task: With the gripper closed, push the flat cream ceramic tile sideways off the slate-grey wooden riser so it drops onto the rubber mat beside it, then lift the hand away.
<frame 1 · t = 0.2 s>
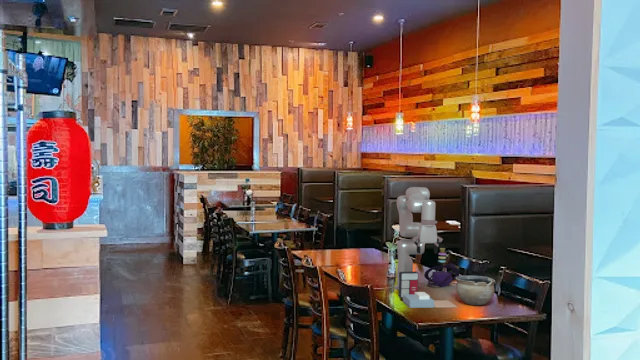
hand: (427, 253, 314), 30 cm above the table, tool pointing down, fingers open, 9 cm apart
tile: (421, 297, 321), point 4 cm above the table, touching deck
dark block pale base: (408, 297, 337), on the table
ceramic bowl: (474, 303, 326), on the table
decorative bottle: (441, 286, 370), on the table
mat: (441, 304, 322), on the table
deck: (418, 304, 321), on the table
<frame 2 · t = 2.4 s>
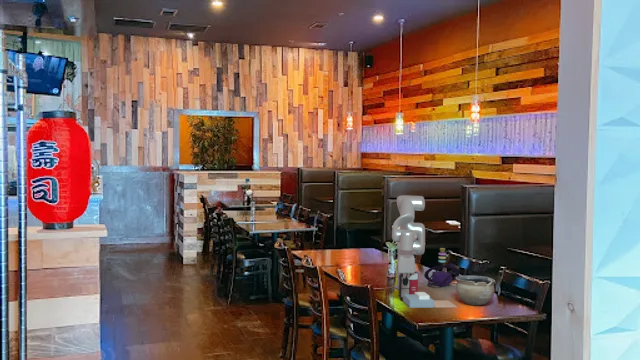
hand: (405, 285, 319), 11 cm above the table, tool pointing down, fingers closed
nothing on the table moved.
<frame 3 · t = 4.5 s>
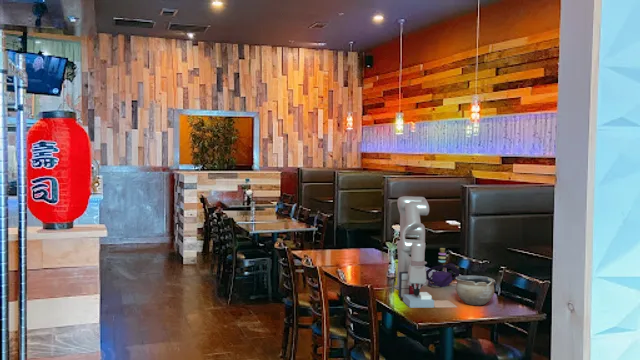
hand: (416, 295, 320), 5 cm above the table, tool pointing down, fingers closed
tile: (423, 297, 321), point 4 cm above the table, touching gripper
everything else where it was.
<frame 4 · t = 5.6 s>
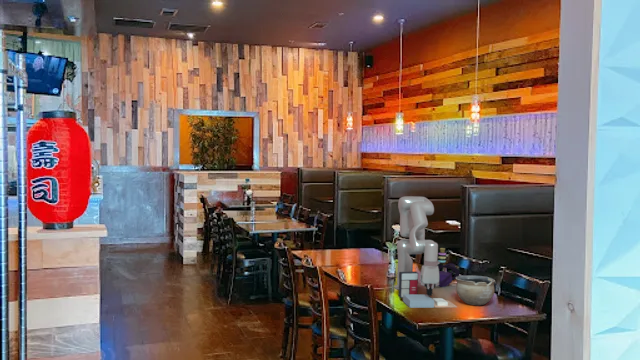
hand: (429, 295, 321), 5 cm above the table, tool pointing down, fingers closed
tile: (440, 300, 322), point 2 cm above the table, tilted 180°, touching mat
everything else where it was.
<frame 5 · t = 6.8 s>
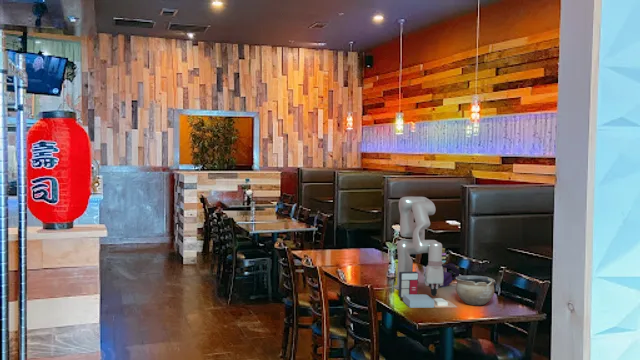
hand: (433, 295, 322), 5 cm above the table, tool pointing down, fingers closed
nothing on the table moved.
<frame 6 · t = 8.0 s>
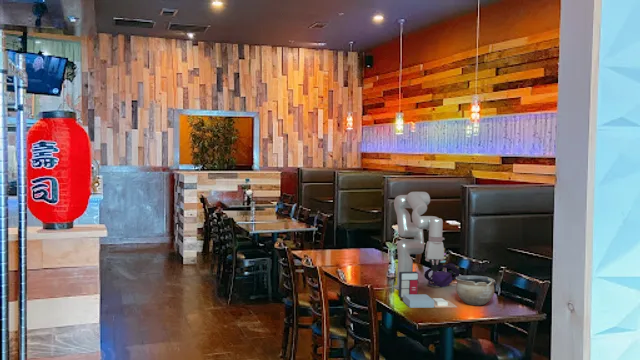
hand: (434, 271, 321), 19 cm above the table, tool pointing down, fingers closed
nothing on the table moved.
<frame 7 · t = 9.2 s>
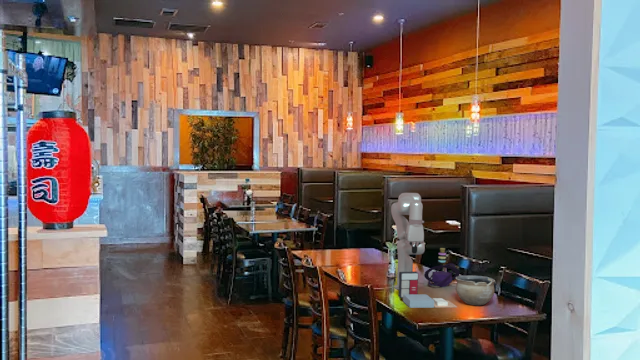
hand: (414, 253, 334), 27 cm above the table, tool pointing down, fingers closed
nothing on the table moved.
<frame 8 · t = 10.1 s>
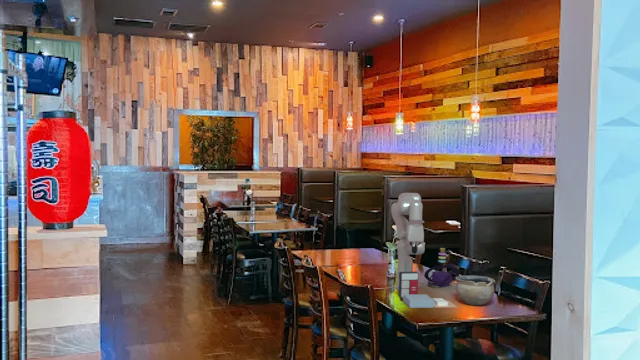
hand: (414, 253, 334), 27 cm above the table, tool pointing down, fingers closed
nothing on the table moved.
at the end: tile point 2.4 cm above the table; tile inside the target area (1.5 cm from its centre), point 2.4 cm above the table; tile touching mat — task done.
